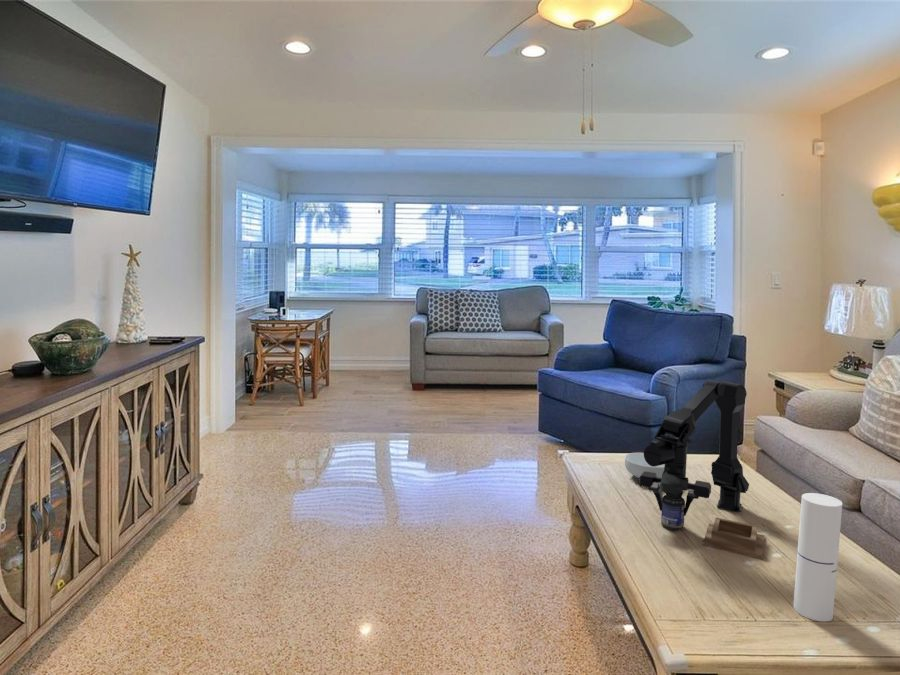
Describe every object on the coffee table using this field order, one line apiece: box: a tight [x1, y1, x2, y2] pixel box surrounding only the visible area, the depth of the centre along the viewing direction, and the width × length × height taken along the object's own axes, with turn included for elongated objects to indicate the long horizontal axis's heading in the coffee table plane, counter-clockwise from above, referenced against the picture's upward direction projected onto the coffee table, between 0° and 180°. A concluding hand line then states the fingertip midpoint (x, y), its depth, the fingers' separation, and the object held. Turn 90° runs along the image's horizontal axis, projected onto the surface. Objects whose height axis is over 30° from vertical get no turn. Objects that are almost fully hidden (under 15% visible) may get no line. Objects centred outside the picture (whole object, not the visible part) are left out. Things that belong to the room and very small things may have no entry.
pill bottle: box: [660, 490, 686, 531], centre depth 159 cm, size 6×6×11 cm
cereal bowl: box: [624, 452, 665, 480], centre depth 198 cm, size 17×17×7 cm
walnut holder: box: [702, 517, 765, 560], centre depth 151 cm, size 14×14×4 cm
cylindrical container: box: [792, 492, 843, 622], centre depth 118 cm, size 7×7×25 cm
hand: (672, 512), depth 160 cm, fingers closed on pill bottle, 6 cm apart
